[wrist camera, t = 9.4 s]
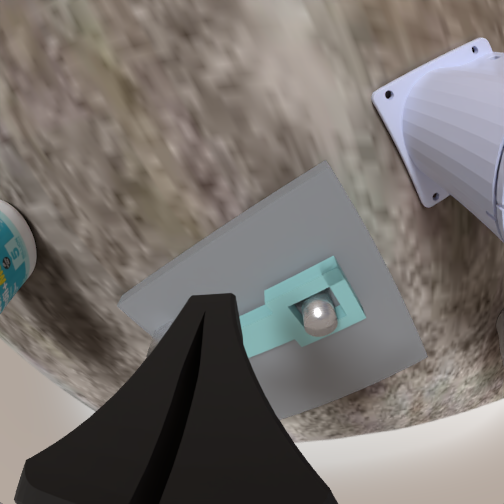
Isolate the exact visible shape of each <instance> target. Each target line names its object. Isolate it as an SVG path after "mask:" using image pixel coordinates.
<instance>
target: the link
mask: <svg viewBox="0 0 504 504" xmlns="http://www.w3.org/2000/svg"><path fill="white" fill-rule="evenodd" d="M328 287H330V289H331V290H332V292H333V293H334V295H335V297H336V298H337V300H338V301H339V303H340V305H339V306H337V307H335V308H334V309H335V313H336V317H337V321H338V325H337V327H336V329H335V330H334V331H333V332H332V333H330V334H328V335H326V336H322V337H315V336H311V335H309V334H308V333H307V332H306V331H305V328H304V322H303V316H302V314H301V313H300V312H299V310H298V309H297V308H296V306H295V305H294V304H295V303H297V302H299V301H301V300H303V299H305V298H308V297H310V296H312V295H314V294H316V293H318V292H320V291H322V290H324V289H326V288H328ZM264 296H265V305H263V306H261V307H259V308H256V309H254V310H252V311H250V312H248V313H246V314H244V315H241V316H239V318H240V323H241V329H242V334H243V345H244V348H245V351H246V353H247V356H248V358H250V357H252V356H255V355H258V354H260V353H263V352H265V351H268V350H270V349H273V348H275V347H277V346H280V345H282V344H285V343H287V342H289V341H292V340H294V339H295V340H296V341H297V342H298V343H299V345H300V346H301V347H303V346H306V345H308V344H310V343H313V342H315V341H317V340H320V339H322V338H324V337H327V336H329V335H331V334H333V333H336V332H338V331H340V330H342V329H344V328H347V327H349V326H351V325H353V324H355V323H357V322H359V321H361V320H363V319H366V316H365V313H364V310H363V307H362V305H361V303H360V301H359V299H358V298H357V296H356V294H355V292H354V290H353V289H352V287H351V285H350V283H349V281H348V280H347V278H346V276H345V274H344V273H343V271H342V269H341V267H340V266H339V264H338V262H337V260H336V259H335V257H334V256H332V257H330V258H328V259H326V260H324V261H322V262H320V263H318V264H316V265H314V266H312V267H310V268H308V269H307V270H305V271H303V272H301V273H299V274H297V275H295V276H293V277H291V278H289V279H287V280H285V281H283V282H281V283H279V284H277V285H275V286H273V287H271V288H269V289H267V290H265V291H264Z"/></svg>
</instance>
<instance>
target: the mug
mask: <svg viewBox="0 0 504 504" xmlns="http://www.w3.org/2000/svg"><path fill="white" fill-rule="evenodd" d="M496 328H497V331H498V336H499V346H500V353H501V358H502V362H503V366H504V309H503V310H502V312H501V313H500V315H499V317H498V319H497V323H496Z"/></svg>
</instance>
